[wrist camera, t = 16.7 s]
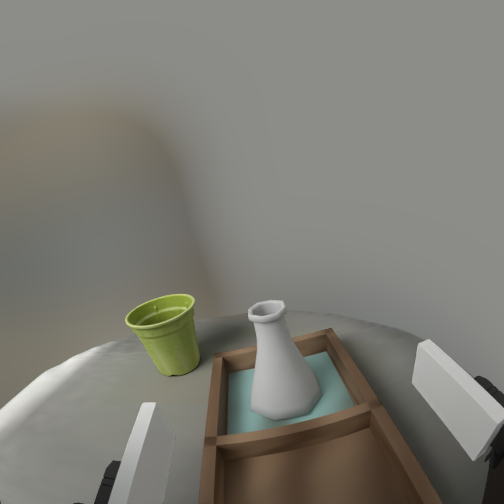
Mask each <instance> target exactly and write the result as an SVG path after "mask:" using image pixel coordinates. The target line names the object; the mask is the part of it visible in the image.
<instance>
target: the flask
mask: <svg viewBox="0 0 504 504" xmlns="http://www.w3.org/2000/svg"><path fill="white" fill-rule="evenodd" d="M286 311H287V309H286V305H285V301H281V300H268V301H263V302H258V303H256V304H255V305H254V306H252V307H251V308H249V311H248V317H249V320H250V321H252V322H253V323H254V326H255V331H256V335H257V355H256V363H255V370H254V375H253V381H252V387H251V400H250V411H251V412H254V413H256V414H259V415H262V416H264V417H267V418H270V419H273V420H281V419H287V418H293V417H298V416H303V415H308V413H309V412H310V411H311V409H312V408H313V406H314V405H315V404H316V402H317V401H318V399H319V398H320V396H321V395H322V392H321V389H320V386H319V382H318V379H317V376H316V375H315V373H314V372H313V370H312V369H311V367H310V366H309V364H308V363H307V362H306V360H305V359H304V357H303V356H302V354H301V353H300V351H299V350H298V348H297V346H296V345H295V343H294V342H293V340H292V338H291V336H290V333H289V331H288V328H287V326H286V323H285V317H284V315H285V314H286Z"/></svg>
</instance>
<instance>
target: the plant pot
mask: <svg viewBox="0 0 504 504" xmlns="http://www.w3.org/2000/svg"><path fill="white" fill-rule="evenodd" d="M194 306H195V299H194V298H193V297H192V296H190V295H187V294H174V295H168V296H163V297H159V298H156V299H153V300H150V301H148V302H146V303H143V304H142V305H139V306H138V307H136V308H135V309H133V310H132V311H131V312H130V313H129V314H128V315H127V316H126V319H125V321H126V324H127V325H128V326H130V327H131V328H132V329H133V331H134V332H135V334H136V335H138V337H139V338H140V340H141V342H142V343H143V345H144V347H145V348H146V350H147V352H148V353H149V355H150V356H151V358H152V360H153V361H154V363H155V365H156V366H157V368H158V369H159V371H160V372H161V373H162V374H164V375H166V376H171V375H183V374H186V373H188V372H190V371H192V370H193V369H195V368H196V367H197V366H198V364H199V360H200V353H199V348H198V343H197V338H196V332H195V326H194V320H193V316H194V309H193V307H194Z"/></svg>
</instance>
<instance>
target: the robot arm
mask: <svg viewBox="0 0 504 504" xmlns="http://www.w3.org/2000/svg"><path fill="white" fill-rule="evenodd" d="M412 384H413V385H414V386H415V388H416V389H417V390H418V391H419V393H420V394H421V395H422V396H423V397H424V399H425V400H426V401H427V402H428V404H429V405H430V406H431V407H432V409H433V410H434V411H435V412H436V414H437V415H438V416H439V417H440V419H441V420H442V421H443V423H444V424H445V425H446V426H447V428H448V429H449V430H450V432H451V433H452V434H453V435H454V437H455V438H456V439H457V441H458V442H459V443H460V445H461V446H462V447H463V449H464V450H465V451H466V453H467V454H468V455H469V457H470V458H471V459H472V461H475V460H476V459H477V458H479V457H480V456H481V455H483V454H484V453H485V452H486V450H487V449H488V448H489V446H490V445H491V447H492V450H491V451H490V453H489V454H488V455H487V457H486V458H485V461H484V462H486V461H487V460H488V459H489V457H490V460H489V461H490V463H489V470H488V477H487V482H486V488H485V492H484V497H483V501H482V504H504V394H503V393H502V392H501V391H498V389H497V388H496V387H495V386H493V384H492V383H491V382H490V381H488V380H487V379H486V378H483V377H481V376H477V377H475V378H474V379H473V378H472V377H471V376H470V375H469V374H468V373H467V372H465V371H464V370H463V369H462V368H461V367H460V366H459V365H458V364H457V363H456V362H455V361H453V360H452V359H451V358H450V357H449V356H447V354H445V353H444V352H443V351H442V350H441V349H440V348H439V347H438V346H437V345H435V344H434V343H433V342H432V341H431V340H430V339H428V340H426V341H424V342H421V343H419V344H418V347H417V354H416V361H415V367H414V373H413V378H412ZM175 439H176V435H175V434H174V432H173V431H172V429H171V427H170V426H169V424H168V422H167V420H166V419H165V417H164V415H163V414H162V412H161V410H160V408H159V406H158V405H157V403H156V402H152V403H142V406H141V408H140V411H139V414H138V416H137V419H136V422H135V424H134V427H133V430H132V433H131V435H130V438H129V441H128V444H127V447H126V450H125V453H124V455H123V458H122V461H114V460H113V461H112V462H111V463H110V465H109V466H108V467H107V468H106V471H105V474H104V476H103V477H104V478H103V479H102V482H101V485H100V488H99V490H98V493H97V496H96V499H95V502H94V504H164V499H165V493H166V487H167V481H168V476H169V470H170V465H171V459H172V454H173V449H174V444H175ZM0 504H1V502H0ZM74 504H82V503H74Z"/></svg>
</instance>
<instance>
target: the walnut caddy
mask: <svg viewBox="0 0 504 504" xmlns="http://www.w3.org/2000/svg"><path fill="white" fill-rule="evenodd" d="M292 340H293V342H294V343H295V345H296V346H297V348H298V350H299V351H300V353H301V354H302V356H303V357H304V359H305V360H306V362H307V363H308V364H309V366H310V367H311V369H312V370H313V372H314V373H315V375H316V376H317V379H318V382H319V386H320V389H321V392H322V395H321V396H320V398H319V399H318V401H317V402H316V404H315V405H314V406H313V408H312V409H311V411H310V412H309V413H308V415H303V416H298V417H293V418H287V419H281V420H273V419H270V418H267V417H264V416H262V415H259V414H256V413H254V412H251V411H250V400H251V387H252V381H253V375H254V370H255V363H256V355H257V346H254V347H249V348H244V349H239V350H233V351H228V352H222V353H216V354H214V360H213V368H212V377H211V385H210V393H209V402H208V411H207V420H206V429H205V439H204V449H203V459H202V470H201V481H200V492H199V504H443V503H442V501H441V500H440V498H439V496H438V494H437V493H436V491H435V489H434V488H433V486H432V484H431V483H430V481H429V479H428V478H427V476H426V474H425V473H424V471H423V469H422V468H421V466H420V464H419V463H418V461H417V459H416V458H415V456H414V454H413V453H412V451H411V450H410V448H409V446H408V445H407V443H406V442H405V440H404V438H403V437H402V435H401V434H400V432H399V430H398V429H397V427H396V426H395V424H394V422H393V421H392V419H391V418H390V416H389V415H388V413H387V411H386V410H385V408H384V407H383V405H382V404H381V402H380V400H379V399H378V397H377V396H376V394H375V393H374V391H373V390H372V388H371V387H370V385H369V384H368V382H367V380H366V379H365V377H364V376H363V374H362V373H361V371H360V370H359V368H358V367H357V365H356V364H355V362H354V361H353V359H352V358H351V356H350V355H349V353H348V352H347V350H346V349H345V347H344V346H343V344H342V343H341V341H340V340H339V338H338V337H337V335H336V334H335V332H334V331H333V329H332V328H329V329H325V330H321V331H318V332H314V333H310V334H306V335H302V336H298V337H294V338H292Z"/></svg>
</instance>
